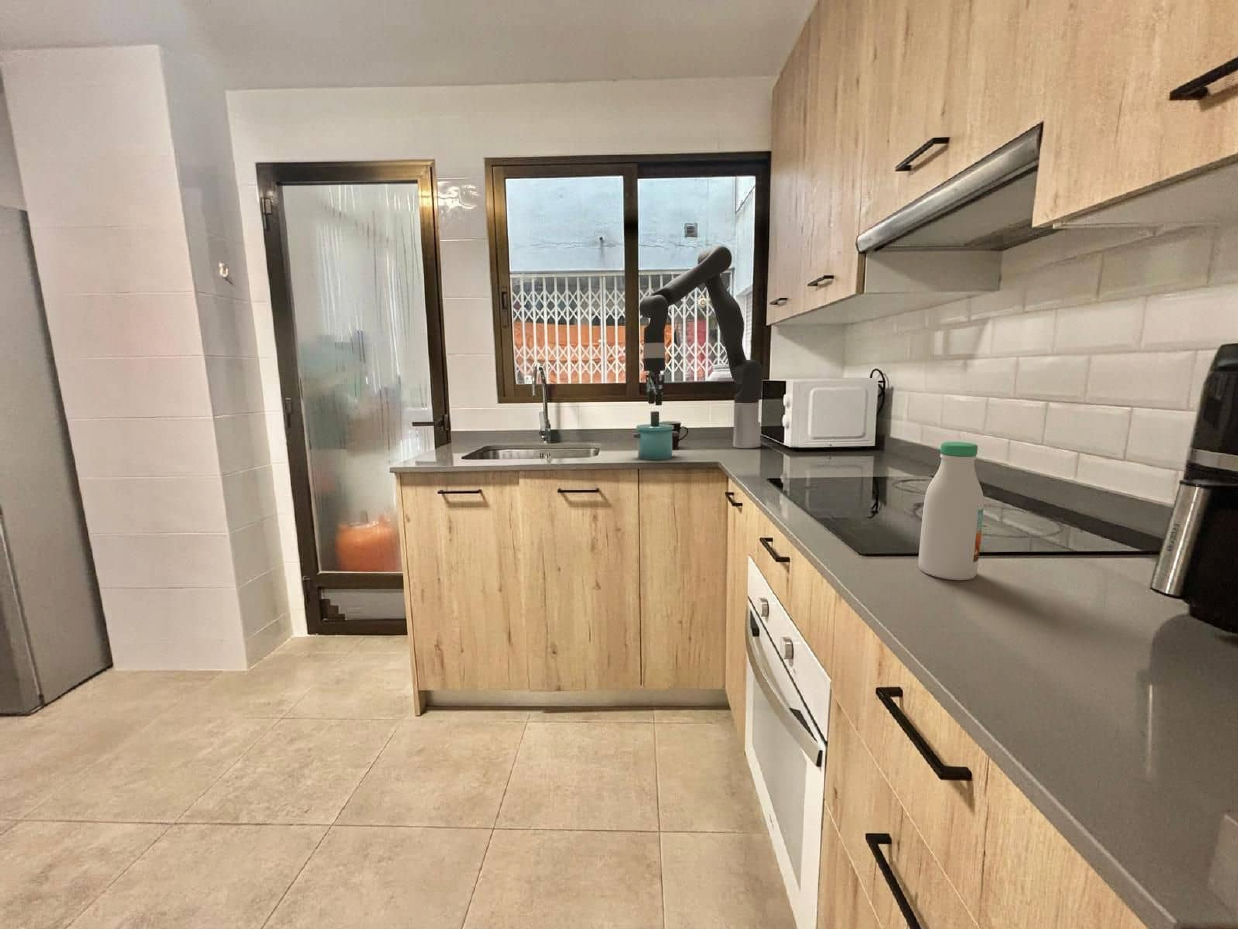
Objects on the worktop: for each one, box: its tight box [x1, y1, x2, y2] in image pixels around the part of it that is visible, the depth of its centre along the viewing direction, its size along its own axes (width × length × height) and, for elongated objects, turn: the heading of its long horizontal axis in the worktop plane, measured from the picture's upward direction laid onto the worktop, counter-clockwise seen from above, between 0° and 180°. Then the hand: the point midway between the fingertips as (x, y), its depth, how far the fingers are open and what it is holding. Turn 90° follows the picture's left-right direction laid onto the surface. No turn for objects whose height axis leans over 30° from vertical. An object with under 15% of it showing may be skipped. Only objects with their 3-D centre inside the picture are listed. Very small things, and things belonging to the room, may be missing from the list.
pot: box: [630, 430, 680, 461], centre depth 188 cm, size 16×12×10 cm
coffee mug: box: [659, 420, 689, 450], centre depth 207 cm, size 12×9×10 cm
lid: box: [635, 410, 674, 431], centre depth 186 cm, size 13×13×6 cm
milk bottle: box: [918, 441, 985, 581], centre depth 81 cm, size 8×8×20 cm
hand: (654, 404), depth 185 cm, fingers open, 8 cm apart
